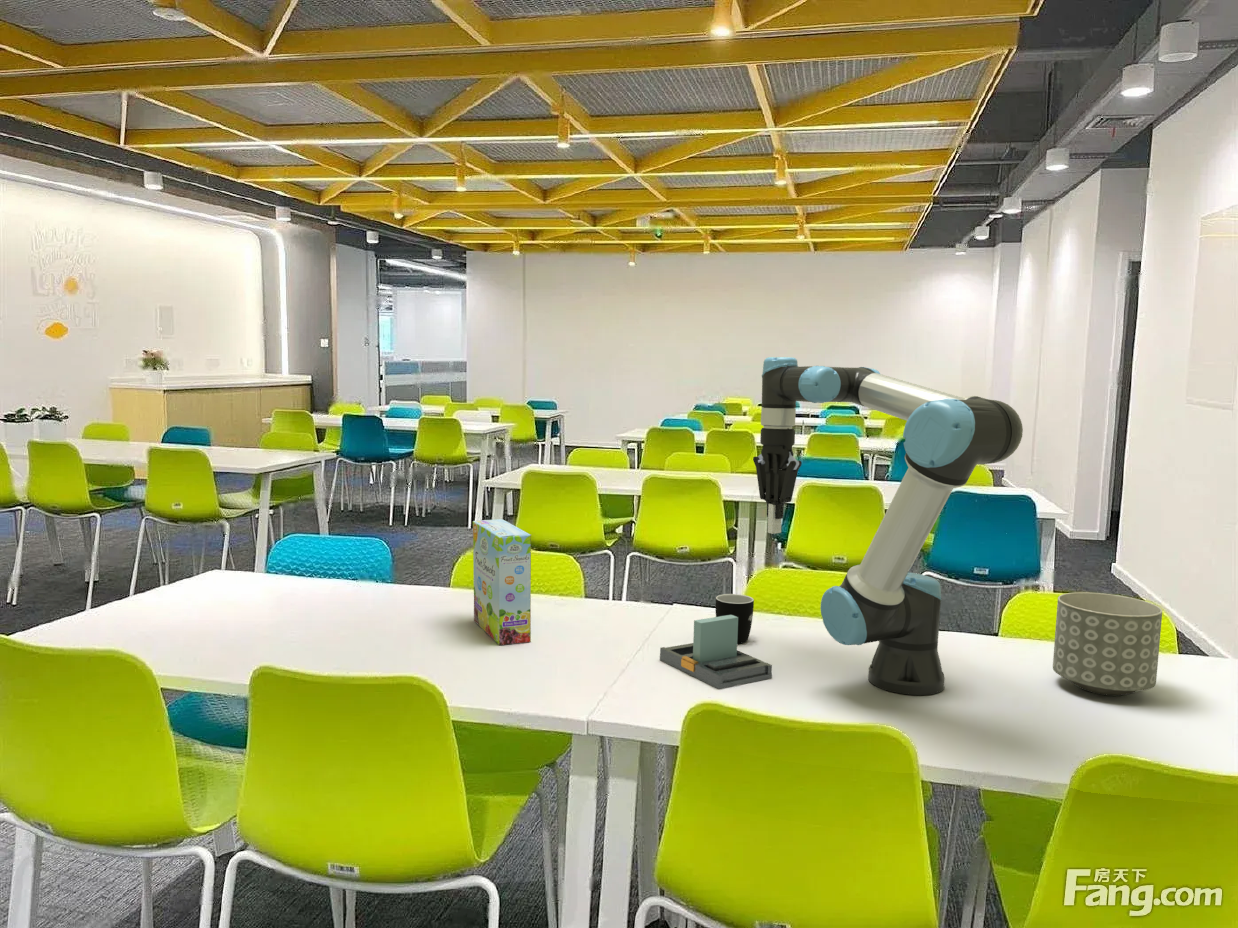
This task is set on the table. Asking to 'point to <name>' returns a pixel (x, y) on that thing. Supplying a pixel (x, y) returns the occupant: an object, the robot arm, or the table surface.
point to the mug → (737, 612)
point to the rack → (717, 667)
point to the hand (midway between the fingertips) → (774, 532)
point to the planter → (1107, 642)
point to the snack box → (502, 581)
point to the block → (715, 638)
